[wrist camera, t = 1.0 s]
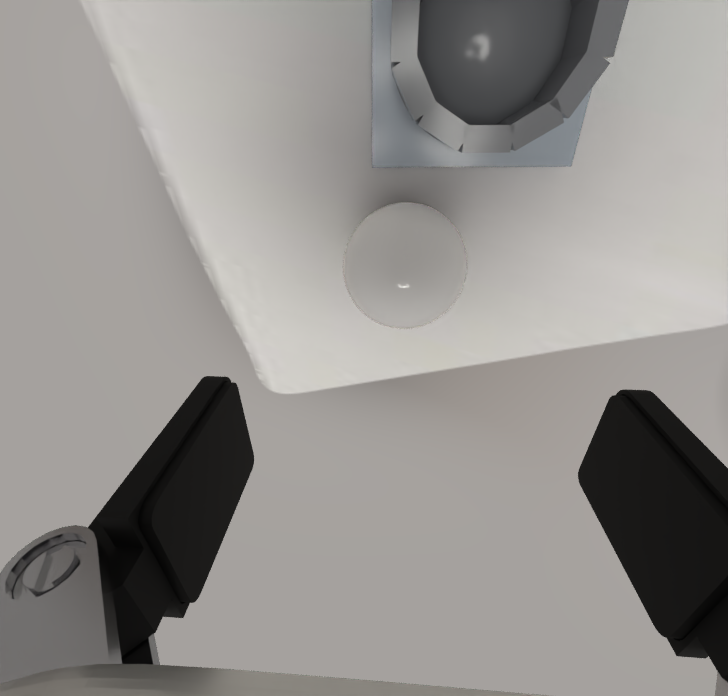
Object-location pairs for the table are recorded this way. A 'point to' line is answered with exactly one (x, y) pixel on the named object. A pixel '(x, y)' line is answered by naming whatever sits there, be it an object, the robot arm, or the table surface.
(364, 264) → the lightbulb
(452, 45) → the socket
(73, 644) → the robot arm
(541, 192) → the table surface
